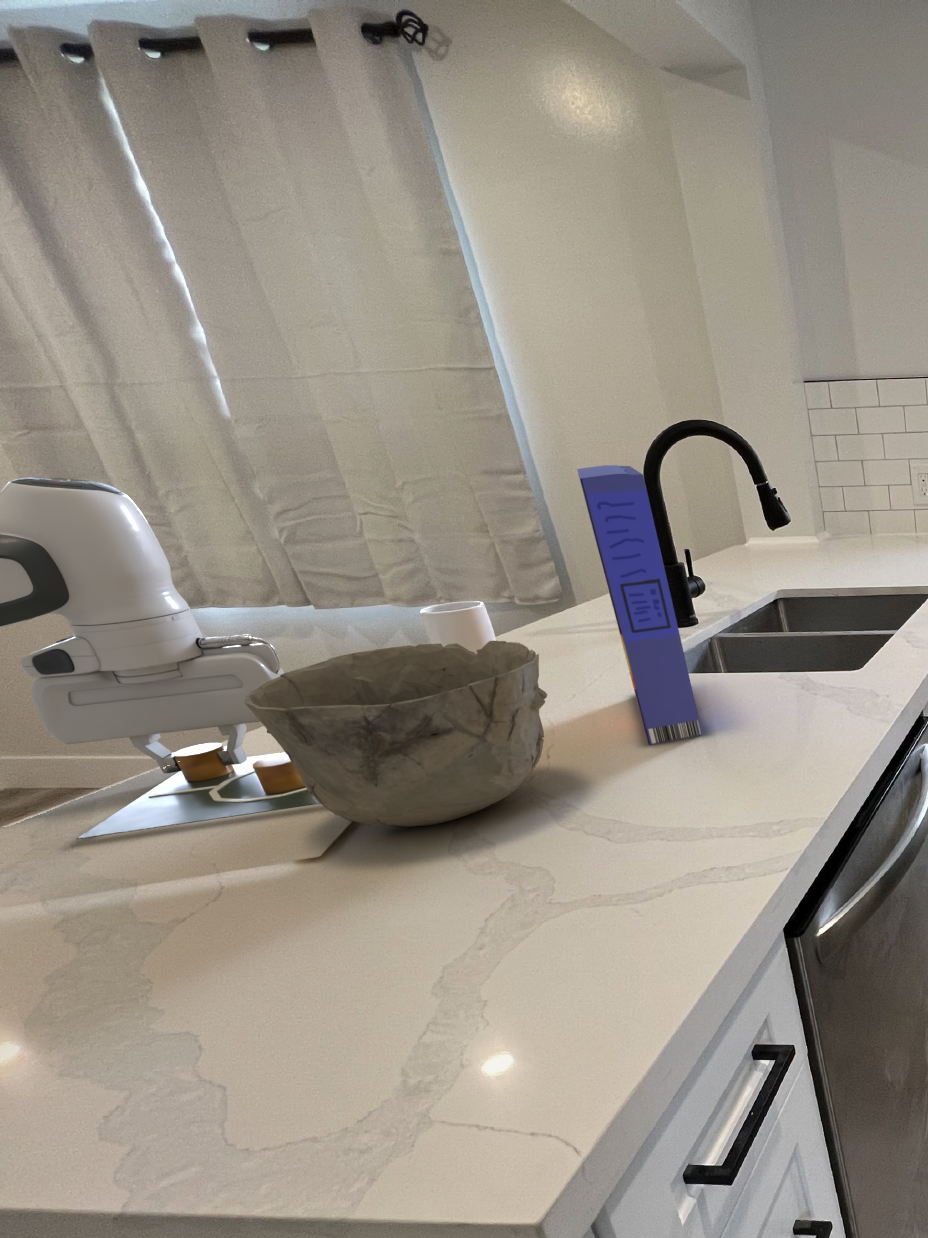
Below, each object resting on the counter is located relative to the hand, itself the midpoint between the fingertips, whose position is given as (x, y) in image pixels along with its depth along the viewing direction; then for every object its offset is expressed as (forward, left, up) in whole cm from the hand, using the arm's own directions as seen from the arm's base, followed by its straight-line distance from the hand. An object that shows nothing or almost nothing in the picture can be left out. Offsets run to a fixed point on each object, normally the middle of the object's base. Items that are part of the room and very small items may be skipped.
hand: (206, 766), depth 94 cm
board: (+6, -5, -2) cm, 8 cm away
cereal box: (+47, +2, -2) cm, 47 cm away
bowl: (+28, -21, -2) cm, 35 cm away
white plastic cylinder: (+25, +10, -2) cm, 27 cm away
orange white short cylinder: (+10, -8, -1) cm, 13 cm away
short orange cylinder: (0, 0, -1) cm, 1 cm away
